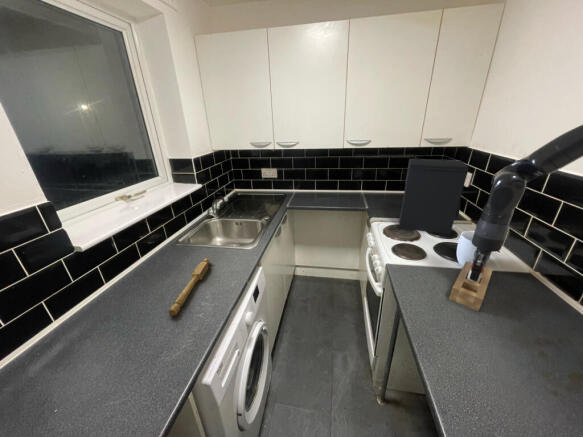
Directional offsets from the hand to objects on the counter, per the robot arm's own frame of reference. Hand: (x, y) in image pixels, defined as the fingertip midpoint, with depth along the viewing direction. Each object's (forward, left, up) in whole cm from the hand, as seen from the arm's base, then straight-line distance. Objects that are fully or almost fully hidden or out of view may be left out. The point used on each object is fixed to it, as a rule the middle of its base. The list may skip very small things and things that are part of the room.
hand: (474, 276), depth 80 cm
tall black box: (+28, -46, -6) cm, 54 cm away
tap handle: (+77, +68, -6) cm, 103 cm away
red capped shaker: (0, 0, -4) cm, 4 cm away
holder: (0, 0, -6) cm, 6 cm away
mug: (+3, -18, -6) cm, 19 cm away
